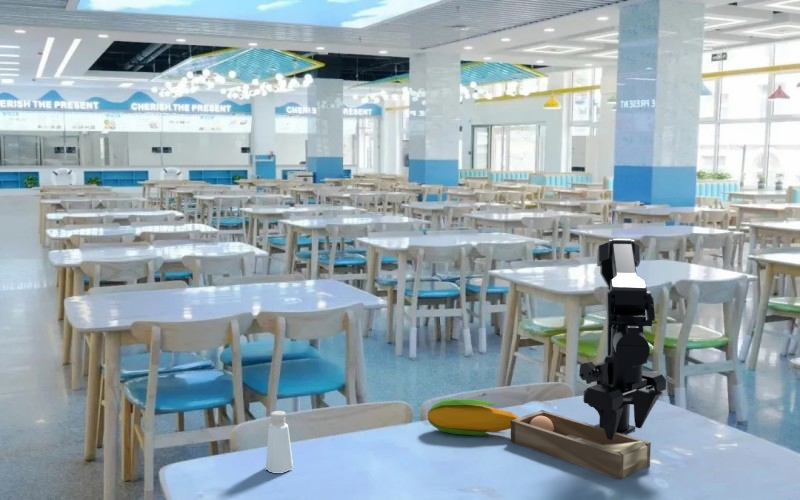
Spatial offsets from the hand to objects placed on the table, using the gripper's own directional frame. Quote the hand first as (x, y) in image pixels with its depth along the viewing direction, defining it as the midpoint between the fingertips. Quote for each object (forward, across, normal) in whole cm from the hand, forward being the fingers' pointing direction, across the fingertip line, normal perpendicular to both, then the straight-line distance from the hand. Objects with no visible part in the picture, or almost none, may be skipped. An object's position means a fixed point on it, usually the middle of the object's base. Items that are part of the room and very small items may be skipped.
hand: (624, 433), depth 154 cm
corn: (+7, +6, -32) cm, 34 cm away
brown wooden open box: (+7, 0, -10) cm, 13 cm away
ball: (+4, 0, -20) cm, 20 cm away
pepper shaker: (+7, +48, -44) cm, 65 cm away
